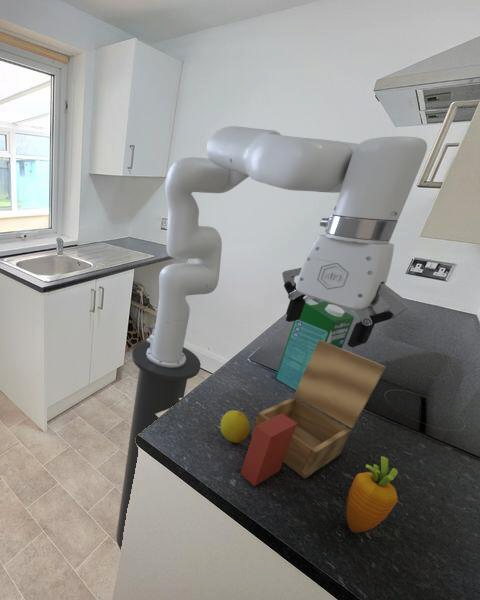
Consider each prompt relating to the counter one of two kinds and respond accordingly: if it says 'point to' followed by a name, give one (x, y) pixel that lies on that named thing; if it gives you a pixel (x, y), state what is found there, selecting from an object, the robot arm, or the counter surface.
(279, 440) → the brick
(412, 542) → the counter surface
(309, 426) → the chest
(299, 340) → the milk carton
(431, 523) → the counter surface
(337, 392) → the wooden slab
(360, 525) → the carrot
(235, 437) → the lemon
